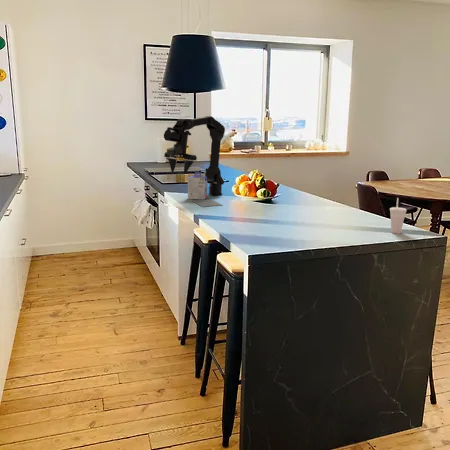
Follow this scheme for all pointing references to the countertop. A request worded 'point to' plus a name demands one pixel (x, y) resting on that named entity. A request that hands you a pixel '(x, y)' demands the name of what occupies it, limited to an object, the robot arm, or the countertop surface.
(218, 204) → the mat
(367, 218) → the countertop surface
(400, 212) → the smoothie
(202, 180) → the ink cartridge box
